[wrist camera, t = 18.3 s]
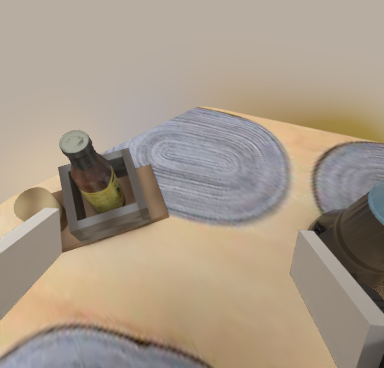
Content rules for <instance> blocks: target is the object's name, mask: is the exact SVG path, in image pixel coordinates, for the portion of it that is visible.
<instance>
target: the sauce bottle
mask: <svg viewBox="0 0 384 368" xmlns="http://www.w3.org/2000/svg"><path fill="white" fill-rule="evenodd" d="M59 146H60V149H61V150H62V152H63V153H64V154H65V155H66V156H67V157H68V158H69V160H70V162H71V176H72V178H73V180H74V182H75V183H76V184H77V186H78V188H79V189H80V191H81V192H82V194H83V195H84V196H85V198H86V199H87V200H88V202H89V203H90V205H91V206H92V207H93V209H94V210H95V211H96V212H97V213H98V214H101V213H105V212H108V211H111V210H114V209H117V208H120V207H124V206H125V197H124V193H123V191H122V189H121V186H120V184H119V182H118V180H117V177H116V175H115V173H114V171H113V169H112V166H111V164H110V162H109V161H108V160H107V159H105V158H104V157H102V156H101V155H99V154H98V153H96V151H95V150H94V148H93V146H92V141H91V139H90V138H89V136H88V135H87V134H86V133H85V132H83V131H80V130H74V131H70V132H68V133H66V134H64V135H63V137H62V138H61V140H60V143H59Z"/></svg>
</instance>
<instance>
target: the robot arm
mask: <svg viewBox="0 0 384 368" xmlns="http://www.w3.org/2000/svg"><path fill="white" fill-rule="evenodd" d="M61 254H62V244H61V229H60V214H59V209H56V208H44V209H42V210H41V211H40V212H38V213H37V214H35V215H34V216H32V217H31V218H29V219H28V220H26V221H25V222H23V223H22V224H21V225H19V226H18V227H16V228H15V229H13V230H12V231H10V232H9V233H7V234H6V235H4V236H3V237H2V238H0V320H1V319H2V318H3V317H4V316H5V315H6V314H7V313H8V312H9V311H10V309H11V308H12V307H13V306H14V305H15V304H16V303H17V302H18V301H19V300H20V299H21V297H22V296H23V295H24V294H25V293H26V292H27V291H28V290H29V289H30V288H31V287H32V285H33V284H34V283H35V282H36V281H37V280H38V279H39V278H40V277H41V276H42V275H43V273H44V272H45V271H46V270H47V269H48V268H49V267H50V266H51V265H52V264H53V262H54V261H55V260H56V259H57V258H58V257H59V256H60V255H61ZM290 275H291V277H292V279H293V281H294V283H295V285H296V287H297V289H298V291H299V293H300V294H301V296H302V298H303V300H304V302H305V304H306V306H307V308H308V310H309V312H310V314H311V316H312V318H313V320H314V322H315V324H316V326H317V328H318V330H319V332H320V334H321V336H322V338H323V340H324V342H325V344H326V346H327V348H328V350H329V352H330V354H331V356H332V358H333V360H334V362H335V364H336V366H337V367H338V368H384V300H383V299H382V298H381V296H380V295H379V294H378V293H377V292H376V291H375V290H373V288H375V287H377V286H379V285H381V284H382V283H383V282H384V181H382V182H380V183H378V184H376V185H375V186H374V187H373V188H372V190H371V191H370V192H368V193H367V194H366V195H364V196H363V197H362V198H360V199H359V200H358V201H356V202H355V203H354V204H352V205H351V206H349V207H348V208H346V209H340V210H334V211H330V212H327V213H325V214H323V215H322V216H320V217H319V218H318V219H316V220H315V221H314V222H313V223H312V224H311V226H310V228H309V230H299V233H298V237H297V242H296V247H295V251H294V256H293V261H292V265H291V270H290Z"/></svg>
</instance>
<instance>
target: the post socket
mask: <svg viewBox="0 0 384 368" xmlns="http://www.w3.org/2000/svg"><path fill="white" fill-rule="evenodd" d="M101 156H102V157H104V158H105V159H107V160H108V161H109V162H110V164H111V166H112V169H113V171H114V173H115V175H116V177H117V180H118V182H119V184H120V186H121V189H122V191H123V193H124V197H125V206H124V207H120V208H117V209H114V210H111V211H108V212H105V213H101V214H98V213H97V212H96V211H95V210H94V209H93V207H92V206H91V205H90V203H89V202H88V200H87V199H86V198H85V196H84V195H83V194H82V192H81V191H80V189H79V188H78V186H77V184H76V183H75V182H74V180H73V178H72V176H71V164H68V165H64V166H61V167H58V169H59V175H60V181H61V186H62V190H61V191H58V192H54V193H50V192H49V191H48V190H46V189H44V188H39V187H36V188H31V189H28V190H26V191H24V192H23V193H22V194H20V196H19V197H18V198H17V199H16V201H15V204H14V212H15V214H16V216H17V217H18V218H20V219H21V220H22V221H24V222H25V221H26V220H28V219H29V218H31V217H32V216H34V215H35V214H37V213H38V212H40V211H41V210H42V209H44V208H56V209H59V214H60V229H61V244H62V253H63V252H66V251H69V250H72V249H75V248H78V247H81V246H84V245H87V244H90V243H93V242H96V241H99V240H102V239H105V238H108V237H111V236H114V235H117V234H120V233H123V232H126V231H129V230H132V229H135V228H138V227H141V226H144V225H147V224H150V223H153V222H156V221H159V220H162V219H165V218H168V212H167V209H166V206H165V203H164V201H163V198H162V195H161V192H160V189H159V186H158V184H157V181H156V178H155V175H154V172H153V170H152V167H151V164H150V165H147V166H143V167H140V168H137V169H135V167H134V163H133V160H132V157H131V154H130V151H129V148H126V149H123V150H119V151H115V152H112V153H108V154H104V155H101Z"/></svg>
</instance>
